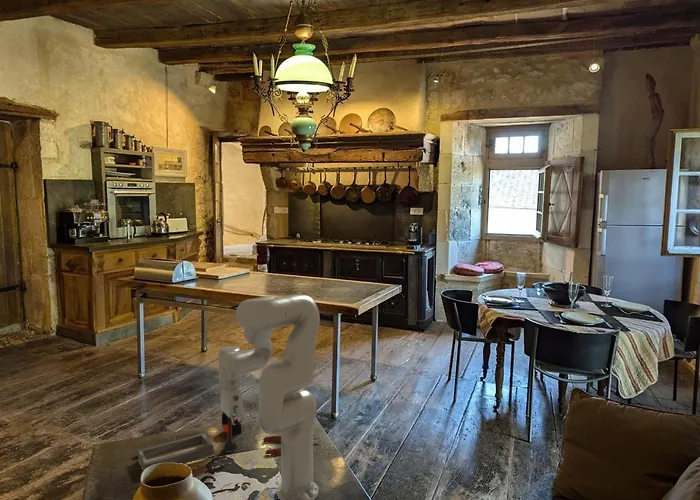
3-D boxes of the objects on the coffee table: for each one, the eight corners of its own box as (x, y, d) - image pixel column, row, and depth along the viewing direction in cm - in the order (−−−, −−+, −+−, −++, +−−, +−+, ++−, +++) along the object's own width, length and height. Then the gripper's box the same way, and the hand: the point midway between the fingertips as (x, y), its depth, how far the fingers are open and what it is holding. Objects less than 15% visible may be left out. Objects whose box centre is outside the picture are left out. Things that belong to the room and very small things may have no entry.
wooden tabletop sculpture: (242, 446, 176) (241, 392, 174) (237, 453, 171) (236, 397, 169) (226, 445, 176) (224, 391, 174) (221, 452, 172) (220, 396, 170)
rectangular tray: (214, 457, 168) (214, 446, 168) (146, 477, 156) (145, 465, 156) (203, 443, 178) (203, 432, 178) (138, 460, 166) (137, 449, 166)
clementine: (239, 426, 192) (239, 408, 191) (247, 432, 186) (246, 414, 185) (219, 431, 187) (219, 413, 186) (226, 438, 181) (226, 420, 181)
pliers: (323, 450, 174) (323, 443, 174) (265, 458, 169) (265, 451, 168) (317, 435, 185) (317, 429, 185) (262, 442, 180) (262, 435, 179)
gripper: (250, 388, 166) (251, 436, 168) (231, 372, 180) (232, 417, 182) (228, 392, 162) (229, 442, 164) (211, 377, 176) (212, 422, 178)
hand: (231, 429), depth 173 cm, fingers open, 9 cm apart
